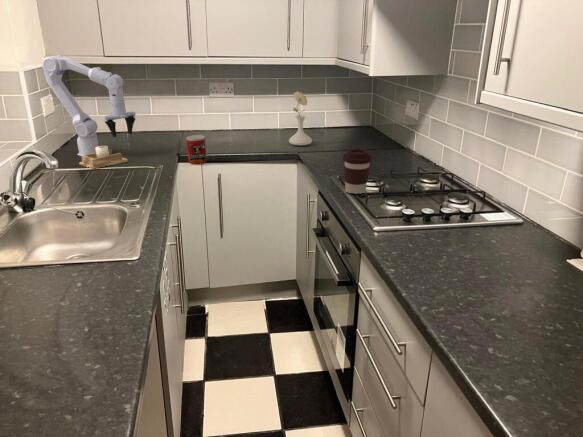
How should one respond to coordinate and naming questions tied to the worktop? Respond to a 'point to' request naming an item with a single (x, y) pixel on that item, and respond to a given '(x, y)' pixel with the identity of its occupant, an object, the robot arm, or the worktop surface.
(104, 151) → the paper roll
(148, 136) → the worktop surface
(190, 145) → the canned food
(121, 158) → the clip holder
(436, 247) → the worktop surface
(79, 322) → the worktop surface
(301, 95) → the flower in vase
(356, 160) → the coffee cup
